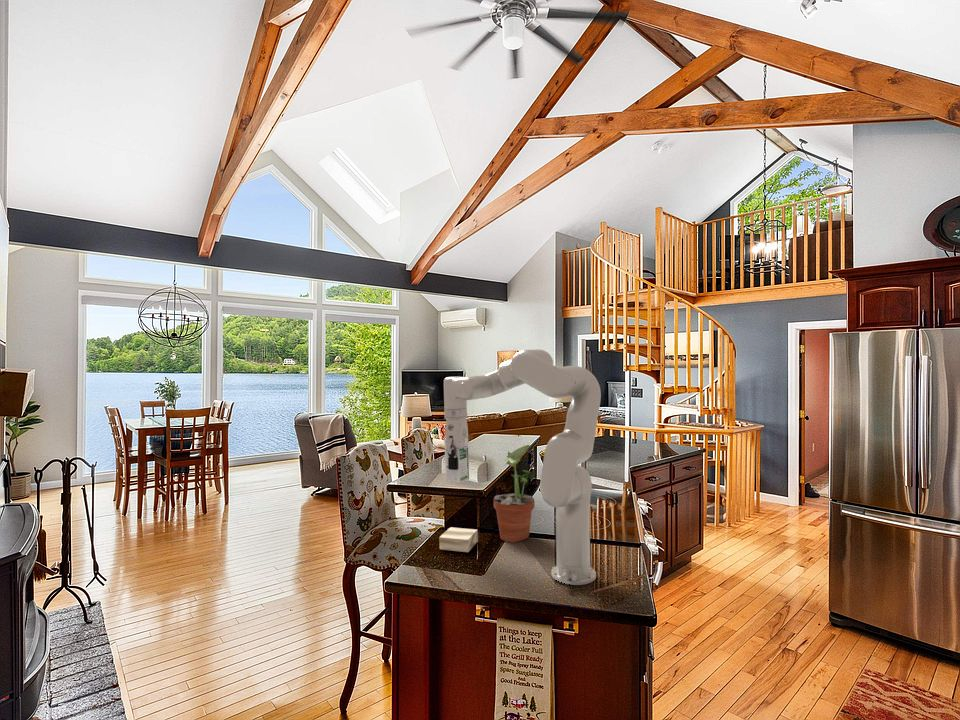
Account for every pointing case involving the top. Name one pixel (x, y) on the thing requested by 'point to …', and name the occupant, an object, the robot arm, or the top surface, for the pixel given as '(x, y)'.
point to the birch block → (458, 539)
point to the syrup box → (463, 465)
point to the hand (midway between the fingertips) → (457, 466)
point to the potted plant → (515, 504)
